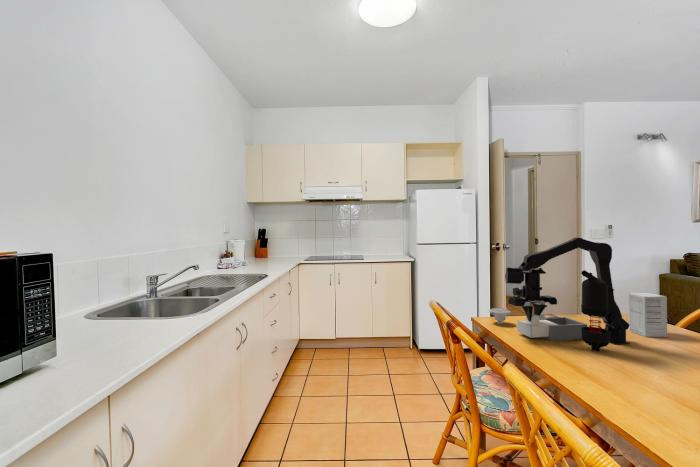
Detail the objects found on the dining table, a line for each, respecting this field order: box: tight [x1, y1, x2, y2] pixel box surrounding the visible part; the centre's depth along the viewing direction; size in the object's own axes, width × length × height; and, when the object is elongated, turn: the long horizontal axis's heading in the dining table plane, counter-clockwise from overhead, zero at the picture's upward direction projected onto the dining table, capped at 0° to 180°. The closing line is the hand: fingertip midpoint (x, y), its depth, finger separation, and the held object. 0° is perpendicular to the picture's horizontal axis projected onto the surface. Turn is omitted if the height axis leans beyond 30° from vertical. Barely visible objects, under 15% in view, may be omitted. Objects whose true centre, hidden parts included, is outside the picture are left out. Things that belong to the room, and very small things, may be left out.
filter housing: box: [539, 313, 588, 342], centre depth 150 cm, size 18×16×6 cm
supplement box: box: [627, 292, 668, 338], centre depth 148 cm, size 10×9×17 cm
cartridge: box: [516, 312, 558, 338], centre depth 146 cm, size 9×13×8 cm
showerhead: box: [488, 307, 512, 325], centre depth 166 cm, size 9×7×10 cm
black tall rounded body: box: [580, 269, 615, 352], centre depth 129 cm, size 14×9×30 cm
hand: (532, 321), depth 146 cm, fingers closed on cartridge, 2 cm apart
